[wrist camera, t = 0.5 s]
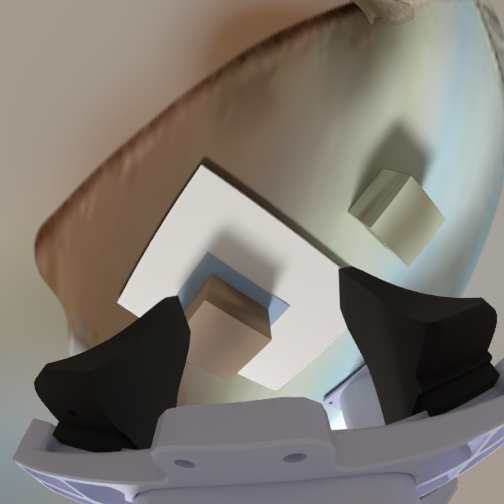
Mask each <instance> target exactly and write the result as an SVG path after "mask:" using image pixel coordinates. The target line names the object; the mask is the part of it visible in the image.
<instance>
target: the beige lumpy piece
mask: <svg viewBox="0 0 504 504" xmlns="http://www.w3.org/2000/svg"><path fill="white" fill-rule="evenodd" d="M350 1H352V2H354V3H355V4H357V5H358V6H359V7H360V8H361V9H362V11H363V12H364V14H365V15H366V17H367V19H368V21H369V22H370V23H371V24H373V25H374V19H375V18H379V19H380V21H381V22H383V23H388V24H394V25H397V24H402V23H405V22H408V21H410V20H412V19H414V15H413V14H414V13H413V11H414V10H413V8H411V6H410V4H409V3H405V2H398V1H396V0H350Z"/></svg>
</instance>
